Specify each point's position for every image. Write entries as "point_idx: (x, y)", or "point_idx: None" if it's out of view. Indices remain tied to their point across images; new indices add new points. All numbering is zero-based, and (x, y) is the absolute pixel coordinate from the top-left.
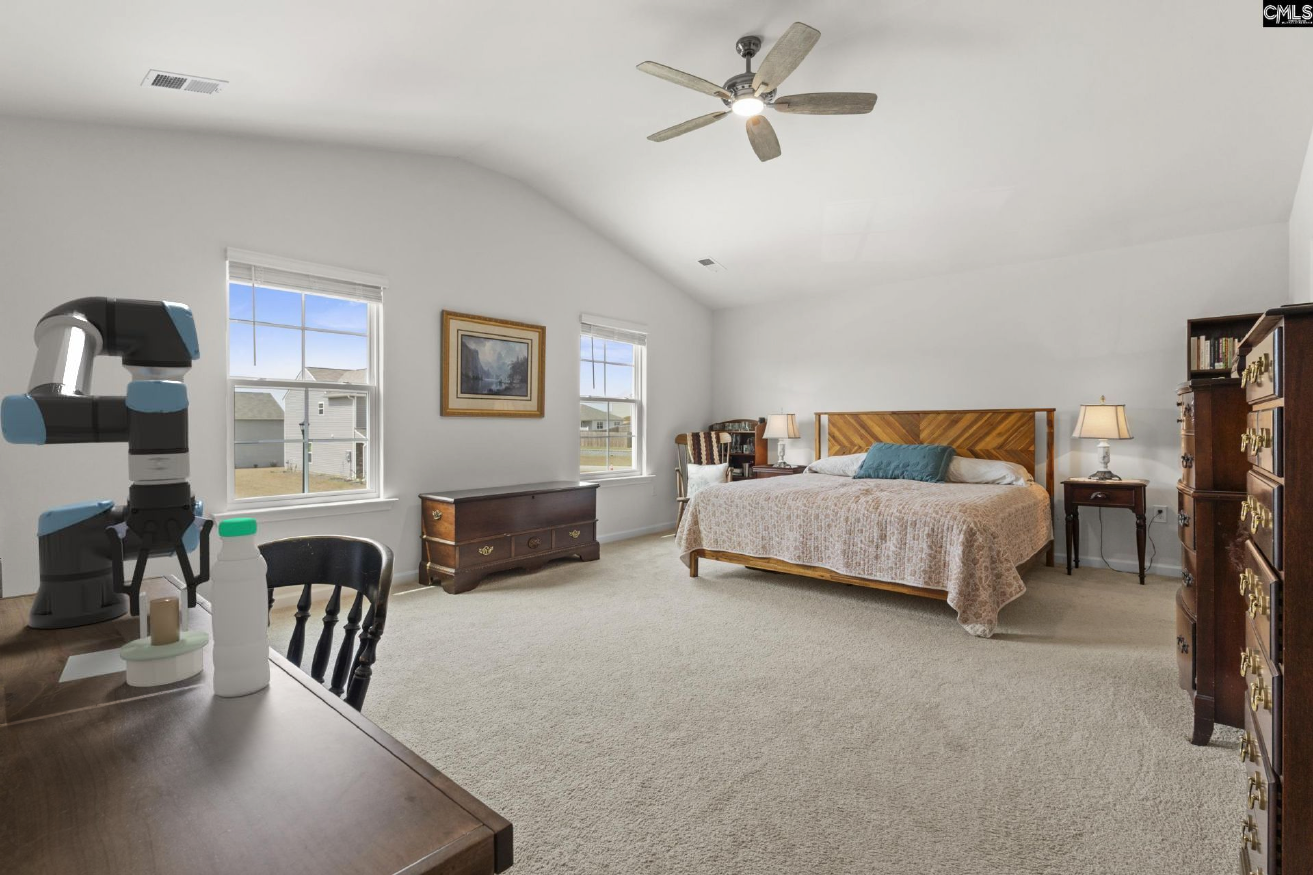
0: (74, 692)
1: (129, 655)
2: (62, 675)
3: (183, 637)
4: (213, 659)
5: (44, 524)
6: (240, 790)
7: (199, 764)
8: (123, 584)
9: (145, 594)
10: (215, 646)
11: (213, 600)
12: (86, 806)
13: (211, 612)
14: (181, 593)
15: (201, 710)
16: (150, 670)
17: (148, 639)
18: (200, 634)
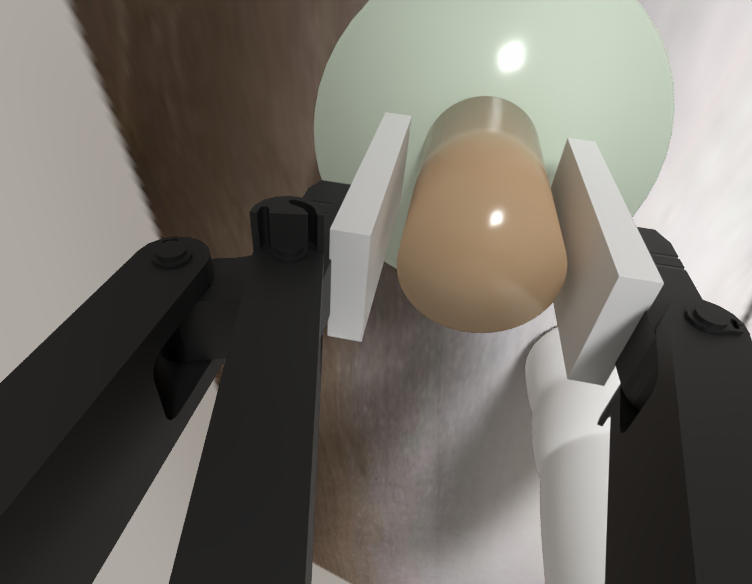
0: (224, 42)
1: None
2: None
3: (559, 139)
4: (532, 431)
5: None
6: (446, 573)
7: (426, 522)
8: (208, 383)
9: (362, 329)
10: (539, 470)
11: None
12: (319, 515)
13: (548, 571)
14: (564, 363)
15: (478, 398)
16: None
17: (427, 40)
18: (634, 146)
